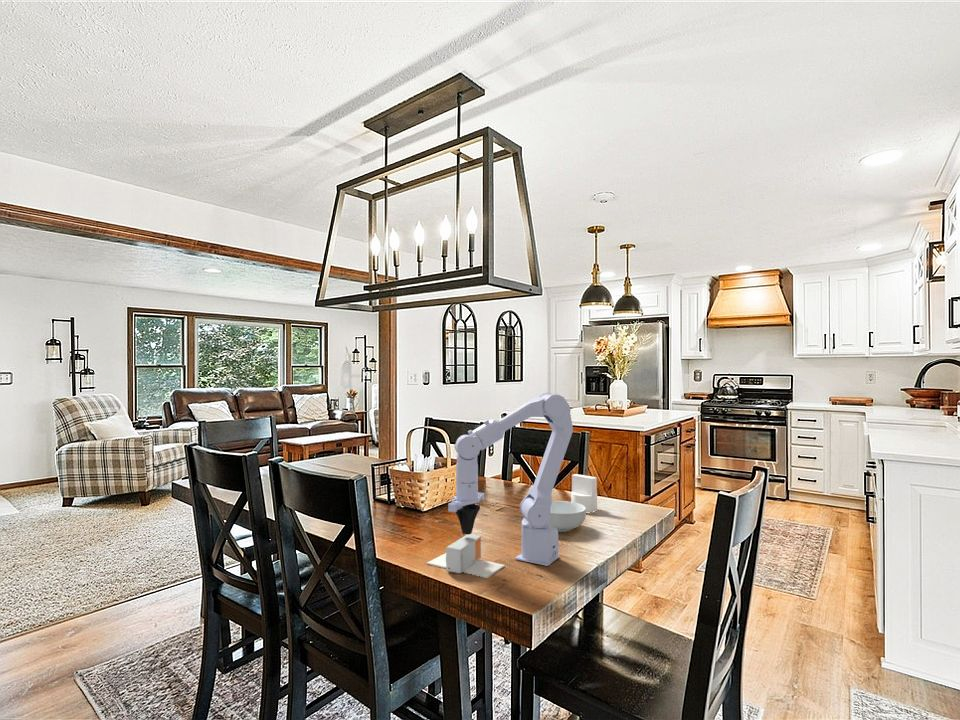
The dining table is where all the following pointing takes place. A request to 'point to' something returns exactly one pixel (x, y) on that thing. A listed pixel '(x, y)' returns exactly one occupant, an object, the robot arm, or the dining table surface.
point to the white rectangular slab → (477, 568)
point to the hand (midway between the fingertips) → (467, 533)
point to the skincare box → (463, 553)
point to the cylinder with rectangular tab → (584, 491)
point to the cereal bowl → (566, 515)
